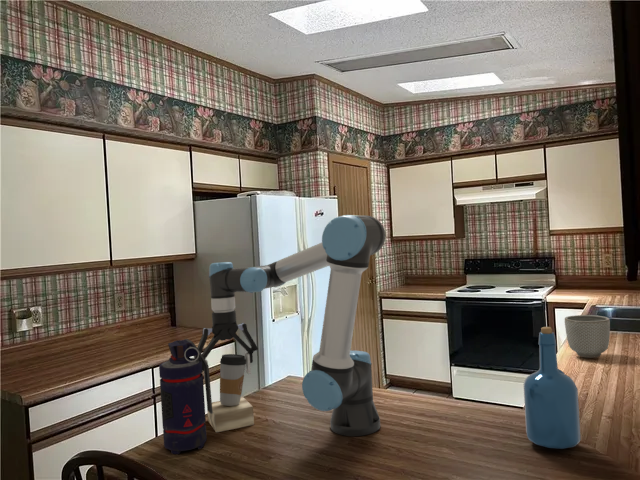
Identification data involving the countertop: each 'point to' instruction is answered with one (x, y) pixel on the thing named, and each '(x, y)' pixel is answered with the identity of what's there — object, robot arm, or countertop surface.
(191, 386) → the grenade
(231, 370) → the coffee cup
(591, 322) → the planter
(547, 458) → the countertop surface
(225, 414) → the maple block
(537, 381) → the wine bottle
